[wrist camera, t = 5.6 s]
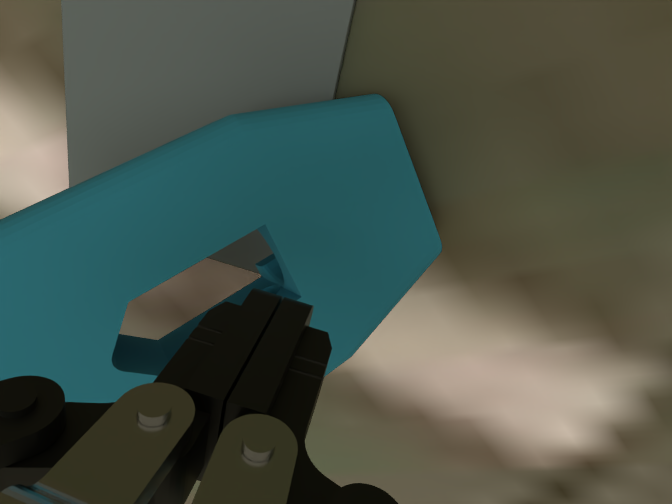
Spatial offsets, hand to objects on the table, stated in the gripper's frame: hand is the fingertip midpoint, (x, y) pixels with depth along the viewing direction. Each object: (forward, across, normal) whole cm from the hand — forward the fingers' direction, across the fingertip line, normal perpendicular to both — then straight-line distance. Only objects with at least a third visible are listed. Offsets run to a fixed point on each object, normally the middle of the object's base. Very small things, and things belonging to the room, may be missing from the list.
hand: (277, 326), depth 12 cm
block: (+14, -2, 0) cm, 15 cm away
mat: (+16, +10, 0) cm, 19 cm away
